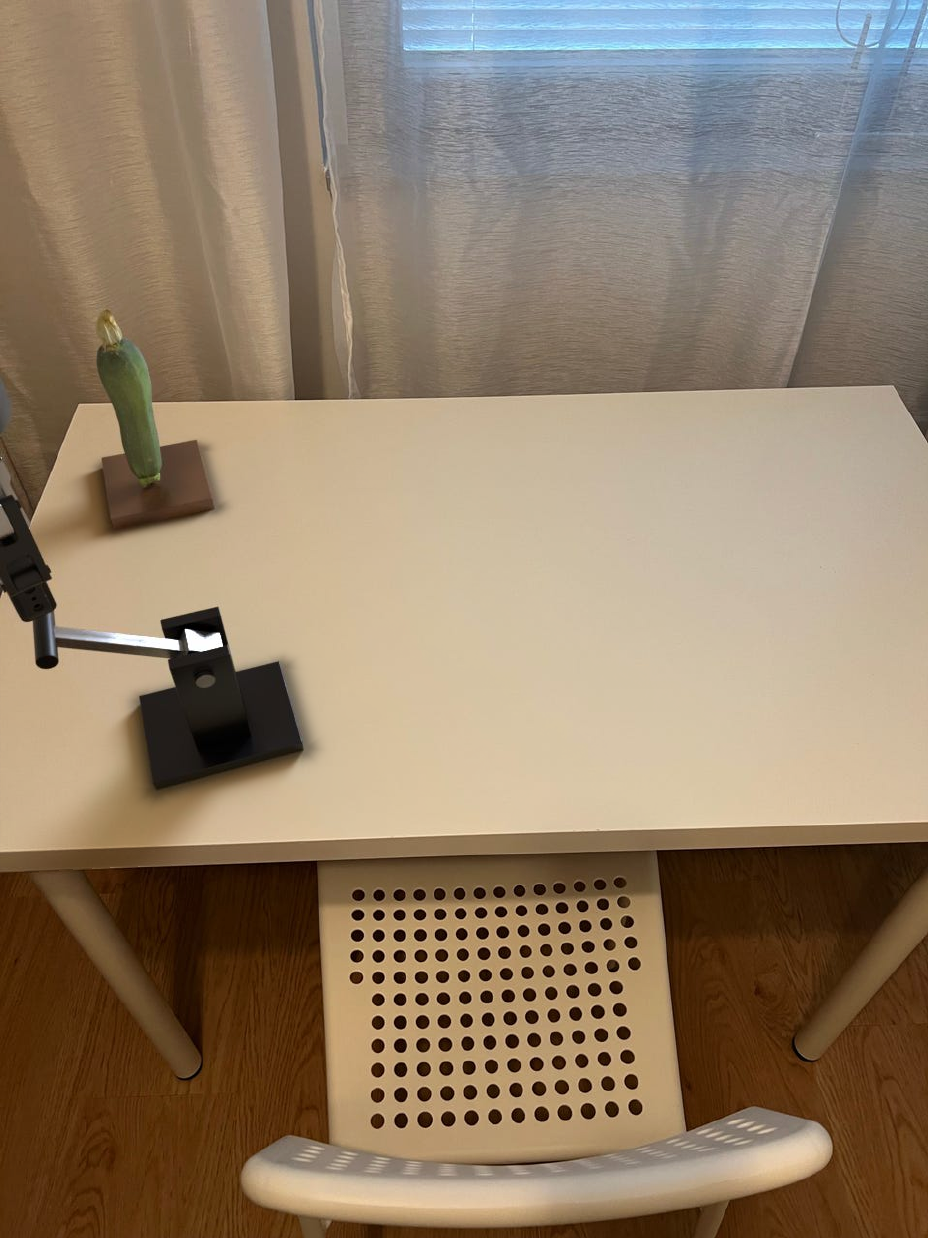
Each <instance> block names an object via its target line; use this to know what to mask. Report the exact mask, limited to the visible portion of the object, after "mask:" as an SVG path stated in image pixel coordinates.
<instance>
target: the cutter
mask: <svg viewBox="0 0 928 1238" xmlns="http://www.w3.org/2000/svg"><path fill="white" fill-rule="evenodd" d="M160 626H161V631H162V634H163V636H164V639H173V640H179V639H180V637H181V635H182V633H183V631H184V629H189V630H198V631H206V632H214V633H220V637H221V641H222V645H223V646H221V647H217V648H213V649H208V650H204V651H200V652H196V653H192V654H188V655H184V656H180V657H175V658H171V659H169V658H167V664H168V669H169V673H170V674H171V678H172V681H173V684H174V686H173V687H169V688H166V689H165V688H164V689H161V690H157V691H153V692H149V693H145V694H141V695H139V696H138V699H139V705H140V711H141V719H142V725H143V731H144V737H145V743H146V751H147V756H148V763H149V768H150V775H151V776H150V777H151V781H152V785H153V787H154V791H160V790H163V789H168V788H171V787H173V786H177V785H178V786H179V785H182V784H185V783H190V782H193V781H195V780H196V781H197V780H200V779H203V778H206V777H210V776H214V775H218V774H221V773H226V772H228V771H232V770H236V769H241V768H243V767H246V766H251V765H254V764H259V763H261V762H265V761H268V760H273V759H276V758H279V757H283V756H288V755H291V754H294V753H298V752H302V751H305V748H304V741H303V739H302V736H301V732H300V729H299V724H298V721H297V717H296V714H295V711H294V706H293V703H292V700H291V697H290V694H289V693H290V692H289V690H288V686H287V682H286V679H285V675H284V672H283V668H282V665H281V662H280V661H279V660H277V661H274V662H269V663H266V664H262V665H257V666H254V667H249V668H245V669H241V670H238V671H236V667H235V663H234V660H233V655H232V651H231V648H230V644H229V641H228V636H227V633H226V629H225V626H224V622H223V617H222V613H221V610H220V607H219V606H214V607H210V608H207V609H206V608H205V609H200V610H197V611H193V612H189V613H184V614H179V615H175V616H171V617H167V618H163V619H160Z"/></svg>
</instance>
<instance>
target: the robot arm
mask: <svg viewBox="0 0 928 1238" xmlns="http://www.w3.org/2000/svg"><path fill="white" fill-rule="evenodd" d="M7 391H8V390H7V389H6V387H5V384H4V382H3V380H2V377H1V376H0V438H1V437H2V436H3V435H4V433H5V432H6V430H7V429H8V427H9V425H10V423H11V419H12V415H13V405H12V402H11V399H10V396H9V394H8V392H7ZM9 471H10V470H9V469H8V467H7V466H6V464H5V462H4V459H3V458H2V456H1V455H0V588H1V589H2V591H3V593H4V594H7V597H8V598H9V600H10V601H11V604H12V606H13V608H14V610H15V612H16V614H17V616H18V617H19V618H20V621H22V622H23V623H30V622H33V620H35V619H37V618H40V617H42V616H44V615H46V614H48V613H50V612H52V611H54V612H55V610H56V609H57V605H58V604H57V602H56V599H55V597H54V595H53V593H52V590H51V588H50V586H49V584H48V582H49V581H52V580H53V577H52V575H51V573H52V570H51V568H50V566H49V565H48V564H47V563H46V562H45V560H44V557H43V556H42V553H41V550H40V549H39V547H38V544H37V542H36V540H35V538H34V536H33V534H32V532H31V529H30V527H31V521H30V519H29V518H28V515H27V513H26V512H25V510H24V508H23V506H22V504H21V502H20V500H19V498H18V496H17V494H16V492H15V491H14V489H13V487H12V485H11V481H12V475H11V473H10V472H9Z"/></svg>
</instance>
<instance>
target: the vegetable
mask: <svg viewBox="0 0 928 1238" xmlns="http://www.w3.org/2000/svg"><path fill="white" fill-rule="evenodd" d="M95 334H96V336H97V338H98V339H99V340H100V341H101V342H102V343H101V344H100V345H99V347H98V349H97V352H96V361H95V362H96V369H97V370H96V371H97V373H98V377H99V380H100V382H101V384H102V386H103V388H104V391H105V392H106V394H107V397H108V399H109V400H110V401H109V402H111V405H112V407H113V410H114V413H115V416H116V419H117V424H118V427H119V433H120V441H121V445H122V449H123V452H124V453H125V456H126V459H127V462H128V465H129V467H130V470H131V471H132V472H133V474H134V475H136V476H137V478H138V479H139V481H140V484H141V486H143V487H144V488H145V487H146V485H147V484H150V483H152V482H156V481H160V473H159V472H160V470H161V466H162V461H161V453H160V446H161V445H160V438H159V432H158V429H157V425H156V420H155V419H156V418H155V413H154V412H155V411H154V408H153V397H152V383H151V382H152V381H151V378H150V373H149V369H148V365H147V362H146V360H145V357H144V355H143V353H142V352H141V350H140V348H139V347H138V346H137V345H136V344H135V343H134V342H132V341H131V340H129V339H127V338H125V337H123V333H122V331H121V328H120V327H119V326H118V323H117V322H116V320H115V318H114V314H112V312H111V308H106V309H105V308H104V309H103V310H102V311H101V310H100V313H99V315H98V316H97V319H96V321H95Z"/></svg>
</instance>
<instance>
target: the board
mask: <svg viewBox="0 0 928 1238" xmlns="http://www.w3.org/2000/svg"><path fill="white" fill-rule="evenodd" d="M160 453H161V461H162V466H161V470H160V472H159V473H160V481H156V482H152V483H150V484H147V485H146V487H145V488H144V487H143V486H141V484H140V481H139V479H138V478H137V476H136V475H134V474H133V472H132V471H131V470H130V467H129V465H128V462H127V459H126V456H125V453H119V454H113V455H108V456H102V457H101V466H102V472H103V478H104V485H105V492H106V497H107V504H108V510H109V516H110V521H111V523H112V527H113V529H114V530H118V529H122V528H128V527H133V526H137V525H143V524H147V523H152V522H156V521H162V520H166V519H172V518H176V517H181V516H186V515H190V514H195V513H200V512H204V511H211V510H215V509H216V507H215V504H214V499H213V495H212V491H211V487H210V484H209V480H208V477H207V472H206V468H205V465H204V461H203V457H202V454H201V449H200V446H199V442H198V440H197V439H193V440H187V441H182V442H176V443H172V444H167V445H162V446H161V445H160Z"/></svg>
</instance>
